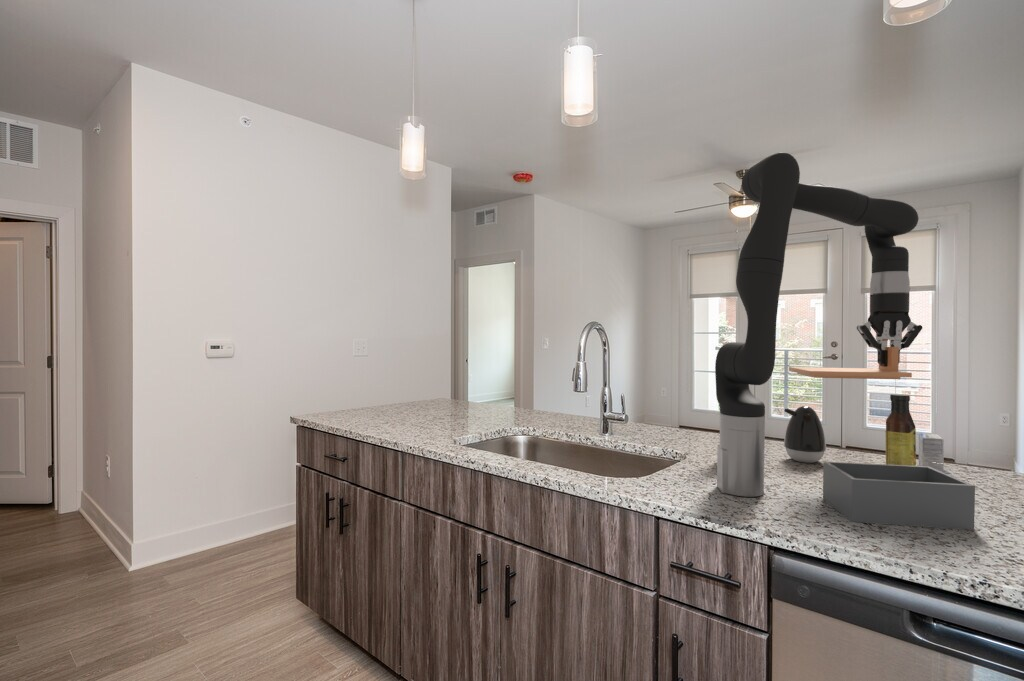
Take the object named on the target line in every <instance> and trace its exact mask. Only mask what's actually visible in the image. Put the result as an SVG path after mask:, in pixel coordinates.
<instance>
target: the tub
mask: <svg viewBox="0 0 1024 681" xmlns="http://www.w3.org/2000/svg"><path fill="white" fill-rule="evenodd" d="M822 464H823V466H822V468H823V470H822V472H823V474H822V484H823V485H822V499H823V500H824V501H825V502H826V503H828V504H829V505H831V506H832V507H833V509H835V510H837V511H838V512H839V513H840V514H842V515H843V516H844V517H845V518H846V519H848V520H849V521H850V522H852V523H865V524H881V525H893V526H894V525H895V526H896V525H897V526H907V527H908V526H911V527H921V528H922V527H923V528H926V527H927V528H939V529H940V528H941V529H942V528H943V529H953V530H968V531H969V530H971V531H975V514H976V513H975V509H976V507H975V505H976V504H975V502H976V485H974V484H971V483H970V482H967V481H964V480H963V479H960V478H957V477H954V476H953V475H951V474H948V473H946V472H941V471H939V470H936V469H934V468H932V467H928V466H920V465H916V466H908V465H887V464H886V463H885V464H882V463H866V462H865V463H864V462H863V463H861V462H842V461H823V463H822Z"/></svg>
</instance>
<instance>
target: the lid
mask: <svg viewBox="0 0 1024 681" xmlns="http://www.w3.org/2000/svg"><path fill="white" fill-rule="evenodd" d="M886 351H888V361H887V367H885V366H880V364H878V368H873V367H871V368H870V367H868V368H867V367H865V368H864V367H817V366H813V367H811V366H810V367H809V366H805V367H804V366H802V367H801V366H789V367H788V371H789V372H791V373H796V374H798V375H801V376H804V377H810V378H813V379H815V378H817V379H859V380H860V379H861V380H862V379H864V380H865V379H867V380H901V378H912V376H913V375H912V374H913V373H912V372H907V371H900V370H899V364H900V362H899V347H890V346H887V349H886Z"/></svg>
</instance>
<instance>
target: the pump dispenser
mask: <svg viewBox="0 0 1024 681" xmlns="http://www.w3.org/2000/svg"><path fill="white" fill-rule="evenodd" d="M783 411H784V412H785V413H787V414H788V415H790V416H791V417H790V419H789V420H788V423H787V426H786V430H785V434H784V440H783V446H784V448H785V452H786V453H787V455H788V457H789V458H790V459H792V460H794V461H796V462H799V463H807V464H813V463H817V462H819V461H820V460H821V459H823V457H824V455H825V452H826V450H827V442H826V436H825V431H824V427H823V425H822V422H821V420H820V418H819V415H818V414H817V411H815V410H814V408H812V407H810V406H806V405H805V406H804V405H803V406H798V407H797V408H796V409H795V410H793V409H789V408H786V407H785V408H784V410H783Z"/></svg>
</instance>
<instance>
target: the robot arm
mask: <svg viewBox="0 0 1024 681" xmlns="http://www.w3.org/2000/svg"><path fill="white" fill-rule="evenodd" d="M800 176H801V171H800V166H799V163H798V160H797V158H795V157H794V155H792V154H791V153H789V152H786V151H785V152H784V151H781V152H776V153H773V154H770V155H768V156H767V157H765V158H763V159H762V160H760V161H758V162H756V164H754V165H752V166H751V167H750V168H748V170H746V171H745V173H744V174H743V176H742V179H741V188H742V191H743V193H744V195H745V196H746V197H747V198H748V199H749V200H750V201H753V202H756V203H759V205H758V210H757V215H756V217H755V220H754V222H753V225H752V226H751V228H750V231H749V233H748V235H747V237H746V238H745V240H744V243H743V245H742V248H741V250H740V253H739V257H738V262H737V269H736V277H735V279H736V280H735V285H736V289H737V292H738V295H739V298H740V300H741V303H742V305H743V308H744V310H745V313H746V318H747V328H746V329H747V330H746V338H745V342H743V341H737V342H736V341H731V342H727V343H724V344H723V345H721V347H720V348H719V350H718V351H717V354H716V358H715V368H714V370H715V373H714V375H715V393H716V394H715V395H716V400H717V403H718V406H719V444H717V446H716V447H717V448H716V449H717V452H716V455H717V457H716V458H717V459H716V460H717V462H716V486H717V488H718V489H719V490H720V492H721V494H727V495H728V494H729V495H733V496H738V497H745V498H746V497H749V498H751V497H752V498H753V497H754V498H755V497H760V496H763V495H764V493H765V445H766V444H765V443H766V442H765V439H766V438H765V436H766V432H765V431H766V430H765V429H766V406H765V403H764V402H763V401H762V400H760V399H759V398H757V397H756V396H755V395H754V394H753V392H751V389H750V386H761V385H764V384H766V383H767V382H768V381H769V380H770V378H771V377H772V374H773V372H774V368H775V364H776V363H775V362H776V342H777V338H776V337H777V336H776V335H777V317H778V307H779V300H780V291H781V284H782V279H783V273H784V265H785V255H786V249H787V248H786V246H787V241H788V234H789V228H790V222H791V215H792V212H793V210H798V211H799V210H800V211H804V212H808V213H811V214H816V215H819V216H822V217H826V218H829V219H831V220H834V221H837V222H841V223H844V224H846V225H849V226H853V227H864V234H865V238H866V241H867V245H868V248H869V252H870V255H871V276H870V284H869V286H870V287H869V316H868V318H867V321H866V322H865V323H863V324H859V325H857V326H856V330H857V331H858V332H859V334H860V336H861V337H862V339H863V340H864V342H865V343H866V345H867V346H868V347H869V348H873V349H876V350H877V364H878V365H879V364H880V366H885V367H887V361H888V351H886V349H887V347H888V341H889V347H899V363H900V362H901V360H900V359H901V358H900V357H901V356H900V353H901V350H904V349H907V348H909V347H910V346H911V345H912V344H913V342H914V340H915V339H916V338H917V337H918V335H919V334H920V333H921V331H922V330H923V326H922V325H921V324H916V323H914V322H912V321H911V319H912V318H911V317H910V315H909V312H910V290H911V284H910V283H911V282H910V277H909V276H910V274H909V273H910V272H909V264H910V262H909V261H910V260H909V259H910V256H909V255H910V254H909V253H910V252H909V250H908V249H907V248H906V247H904V246H901V245H900V246H899V245H896V242H895V240H894V237H897V236H902V235H905V234H907V233H910V232H911V231H913V230H914V229H915V228H916V227H917V226H918V224H919V223H918V222H919V213H918V211H917V210H916V209H915V208H914V207H913V206H912V205H911V204H909V203H907V202H905V201H900V200H894V199H887V198H881V197H872V196H868V195H866V194H863V193H860V192H858V191H855V190H851V189H849V188H844V187H838V186H831V185H830V186H829V185H828V186H827V185H818V184H817V185H816V184H807V183H802V182H800V180H801V179H800V178H801V177H800ZM872 329H873V331H874V332H875V337H874V334H872V332H871V330H872ZM905 330H906V333H904V334H905V335H904V336H903V332H904V331H905Z"/></svg>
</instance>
